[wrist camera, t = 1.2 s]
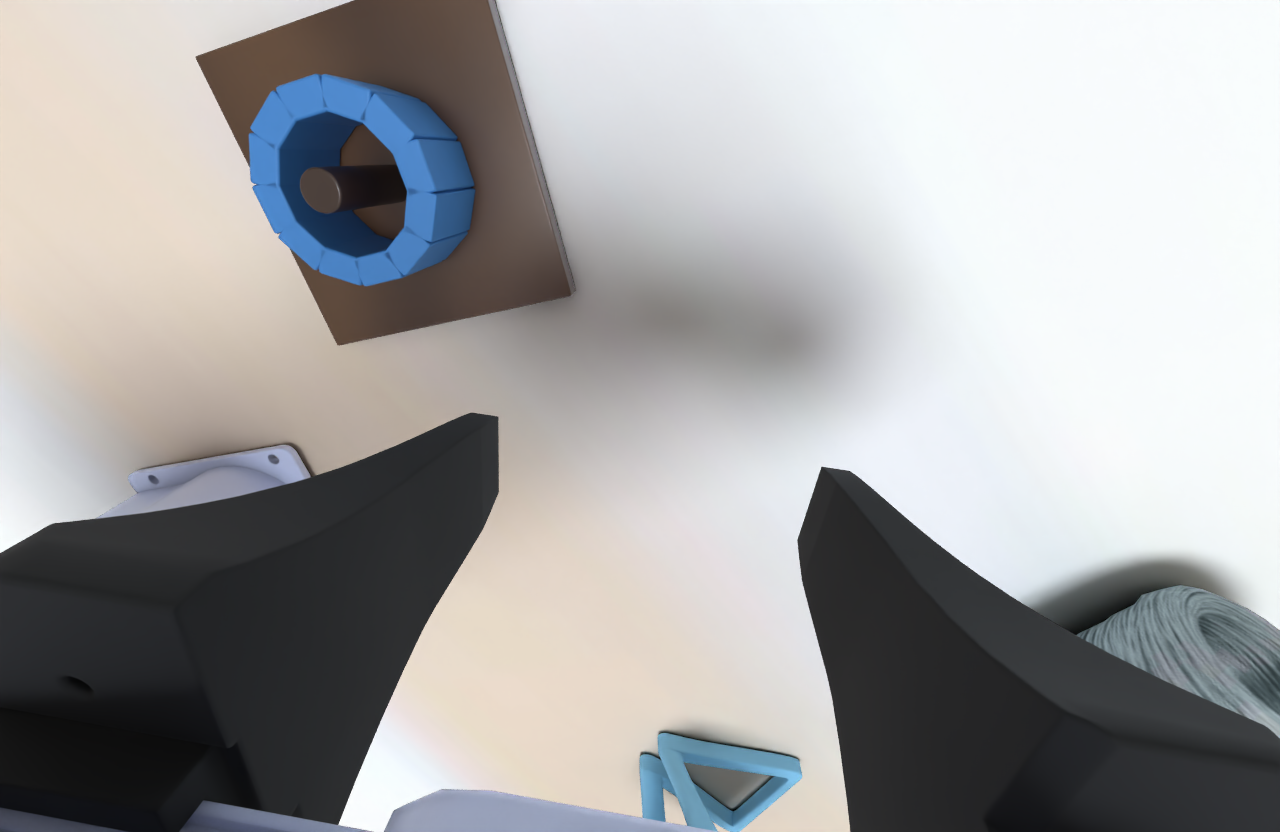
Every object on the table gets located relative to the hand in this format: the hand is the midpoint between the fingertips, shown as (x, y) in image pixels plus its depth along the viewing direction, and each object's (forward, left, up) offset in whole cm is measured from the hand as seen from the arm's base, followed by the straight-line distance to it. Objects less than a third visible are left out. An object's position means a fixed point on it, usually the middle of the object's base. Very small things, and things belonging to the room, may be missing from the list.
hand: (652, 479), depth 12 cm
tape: (-8, +8, -9) cm, 14 cm away
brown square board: (-8, +8, -10) cm, 15 cm away
